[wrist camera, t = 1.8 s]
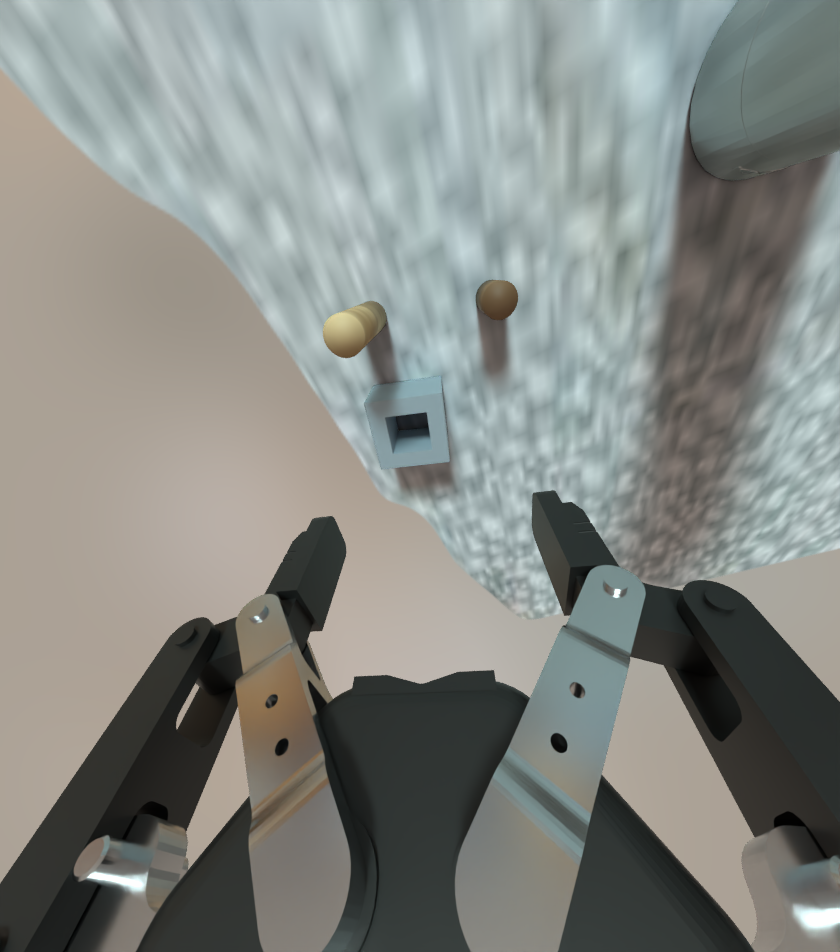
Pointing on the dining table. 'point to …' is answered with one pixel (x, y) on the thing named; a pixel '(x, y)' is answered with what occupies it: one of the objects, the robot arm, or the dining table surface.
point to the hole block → (415, 442)
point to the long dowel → (353, 328)
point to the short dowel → (497, 299)
